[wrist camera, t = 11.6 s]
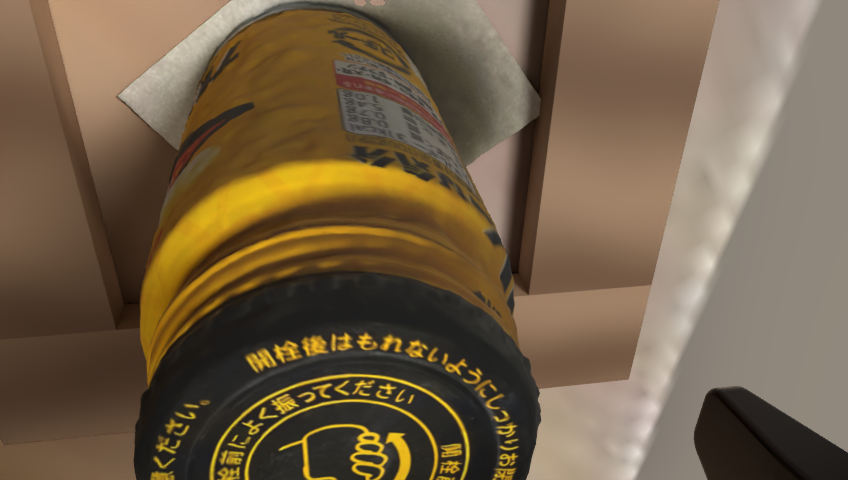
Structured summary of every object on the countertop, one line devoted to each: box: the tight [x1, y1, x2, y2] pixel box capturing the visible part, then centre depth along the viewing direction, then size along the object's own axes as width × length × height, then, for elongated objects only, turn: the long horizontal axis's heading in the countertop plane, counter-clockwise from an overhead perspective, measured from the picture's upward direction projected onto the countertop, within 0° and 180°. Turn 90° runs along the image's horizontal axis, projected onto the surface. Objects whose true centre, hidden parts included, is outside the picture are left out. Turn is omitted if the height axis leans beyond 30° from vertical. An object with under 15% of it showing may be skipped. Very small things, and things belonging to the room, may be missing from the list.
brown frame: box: [0, 0, 719, 445], centre depth 19 cm, size 16×20×1 cm
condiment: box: [118, 0, 541, 480], centre depth 14 cm, size 7×8×12 cm
